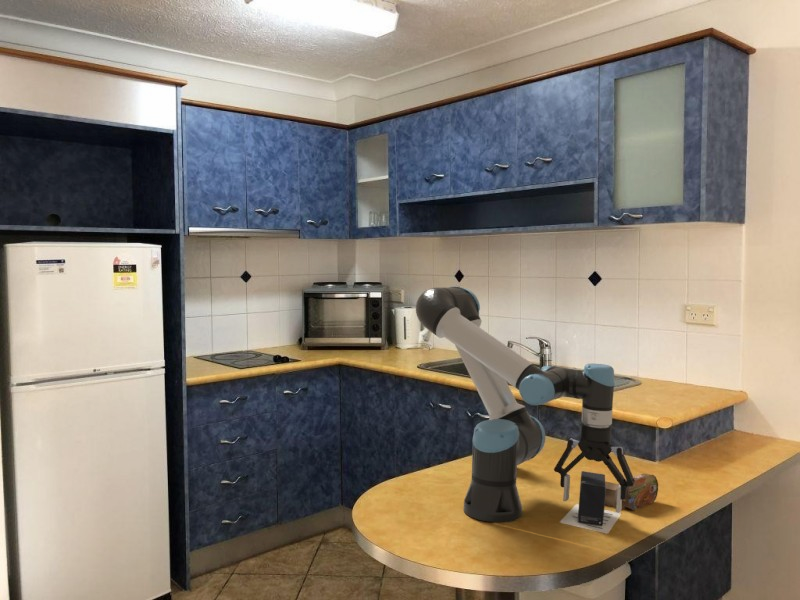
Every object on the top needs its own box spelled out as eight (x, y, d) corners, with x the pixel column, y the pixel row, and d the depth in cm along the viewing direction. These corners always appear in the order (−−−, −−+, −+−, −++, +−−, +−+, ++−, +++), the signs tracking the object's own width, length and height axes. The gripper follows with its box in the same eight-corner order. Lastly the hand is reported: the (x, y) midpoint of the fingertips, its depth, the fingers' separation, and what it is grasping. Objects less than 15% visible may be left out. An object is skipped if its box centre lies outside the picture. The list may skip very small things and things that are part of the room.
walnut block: (592, 503, 183) (593, 485, 183) (598, 497, 188) (599, 480, 188) (614, 508, 180) (615, 490, 180) (619, 502, 185) (620, 484, 185)
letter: (559, 523, 168) (559, 522, 168) (576, 504, 182) (576, 503, 182) (607, 534, 162) (607, 533, 162) (621, 514, 176) (621, 513, 176)
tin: (628, 513, 177) (630, 482, 176) (618, 509, 179) (619, 479, 178) (658, 502, 186) (660, 472, 186) (648, 498, 188) (649, 469, 188)
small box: (604, 526, 166) (606, 485, 165) (577, 523, 168) (579, 482, 167) (603, 512, 176) (605, 473, 175) (578, 508, 178) (580, 470, 177)
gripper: (544, 419, 173) (540, 499, 175) (644, 435, 161) (639, 520, 162) (553, 414, 180) (549, 491, 181) (649, 429, 167) (644, 511, 169)
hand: (591, 505), depth 172 cm, fingers open, 13 cm apart
